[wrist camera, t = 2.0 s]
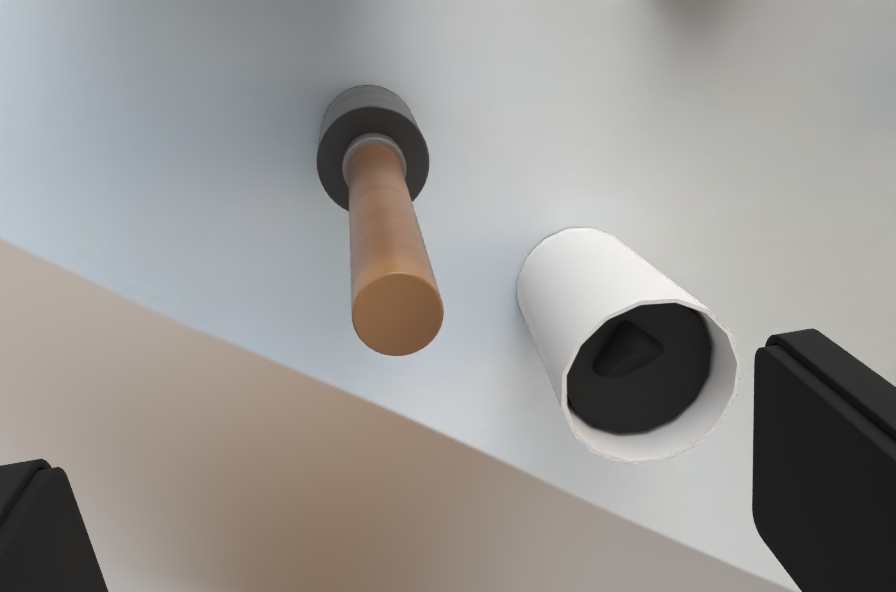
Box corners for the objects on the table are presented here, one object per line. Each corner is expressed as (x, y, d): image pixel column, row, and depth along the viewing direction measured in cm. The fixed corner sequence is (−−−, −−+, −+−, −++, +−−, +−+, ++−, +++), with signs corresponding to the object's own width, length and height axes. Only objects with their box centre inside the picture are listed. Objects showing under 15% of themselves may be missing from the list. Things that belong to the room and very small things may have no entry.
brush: (302, 143, 34) (253, 339, 16) (357, 65, 33) (375, 174, 15) (379, 197, 35) (418, 438, 17) (434, 123, 34) (539, 292, 16)
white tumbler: (479, 310, 38) (523, 416, 29) (560, 191, 36) (635, 263, 27) (590, 372, 40) (665, 491, 30) (672, 261, 38) (778, 352, 29)
